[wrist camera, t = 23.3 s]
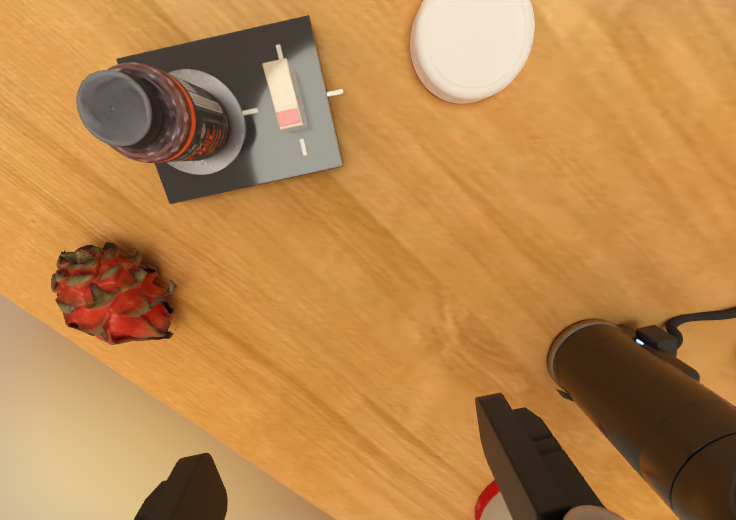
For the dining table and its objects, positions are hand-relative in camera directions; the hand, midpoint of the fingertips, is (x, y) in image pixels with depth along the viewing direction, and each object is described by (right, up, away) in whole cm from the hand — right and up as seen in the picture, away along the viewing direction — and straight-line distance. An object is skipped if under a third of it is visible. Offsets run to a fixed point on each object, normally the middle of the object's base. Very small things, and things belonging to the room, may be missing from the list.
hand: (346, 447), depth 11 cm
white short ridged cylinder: (+9, +25, +22) cm, 35 cm away
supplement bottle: (-14, +17, +20) cm, 30 cm away
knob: (-6, +19, +20) cm, 28 cm away
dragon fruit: (-23, +3, +27) cm, 36 cm away
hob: (-11, +19, +23) cm, 32 cm away
